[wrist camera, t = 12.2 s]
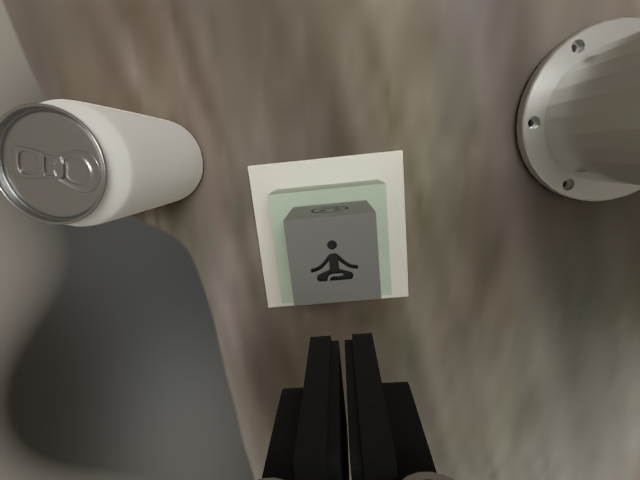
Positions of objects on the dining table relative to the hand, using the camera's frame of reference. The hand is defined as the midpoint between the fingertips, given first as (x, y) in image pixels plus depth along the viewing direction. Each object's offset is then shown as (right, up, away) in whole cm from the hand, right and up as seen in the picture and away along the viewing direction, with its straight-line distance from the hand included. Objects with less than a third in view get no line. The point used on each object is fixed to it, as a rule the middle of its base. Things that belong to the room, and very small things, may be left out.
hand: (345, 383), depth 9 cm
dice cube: (0, +4, +15) cm, 15 cm away
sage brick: (0, +4, +19) cm, 19 cm away
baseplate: (0, +5, +19) cm, 20 cm away
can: (-13, +10, +19) cm, 25 cm away
